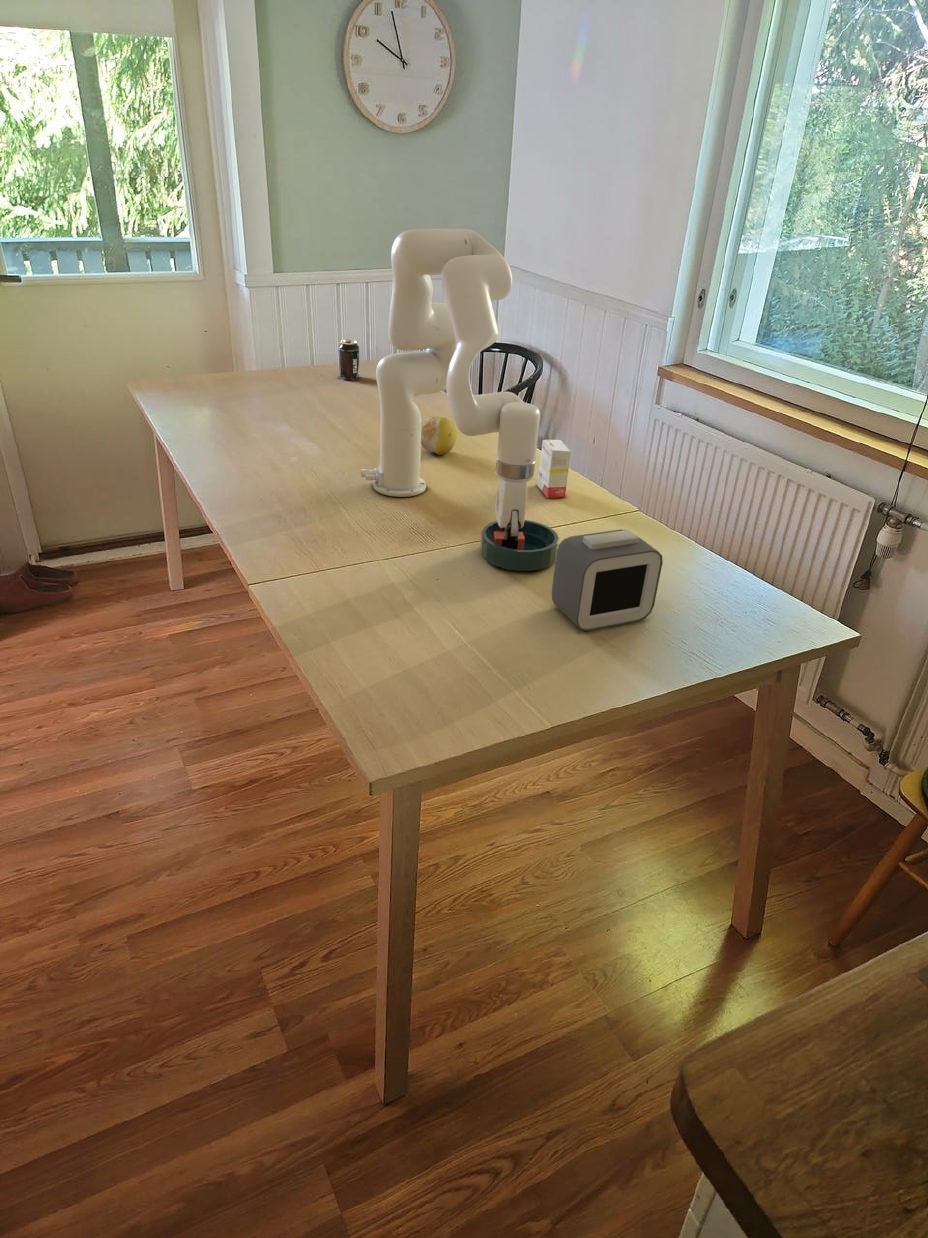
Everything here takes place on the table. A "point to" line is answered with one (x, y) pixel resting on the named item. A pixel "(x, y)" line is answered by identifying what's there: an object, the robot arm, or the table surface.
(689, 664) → the table surface
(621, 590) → the alarm clock
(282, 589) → the table surface
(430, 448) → the fruit
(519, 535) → the eraser
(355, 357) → the beverage can
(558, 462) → the ink box
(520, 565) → the bowl
